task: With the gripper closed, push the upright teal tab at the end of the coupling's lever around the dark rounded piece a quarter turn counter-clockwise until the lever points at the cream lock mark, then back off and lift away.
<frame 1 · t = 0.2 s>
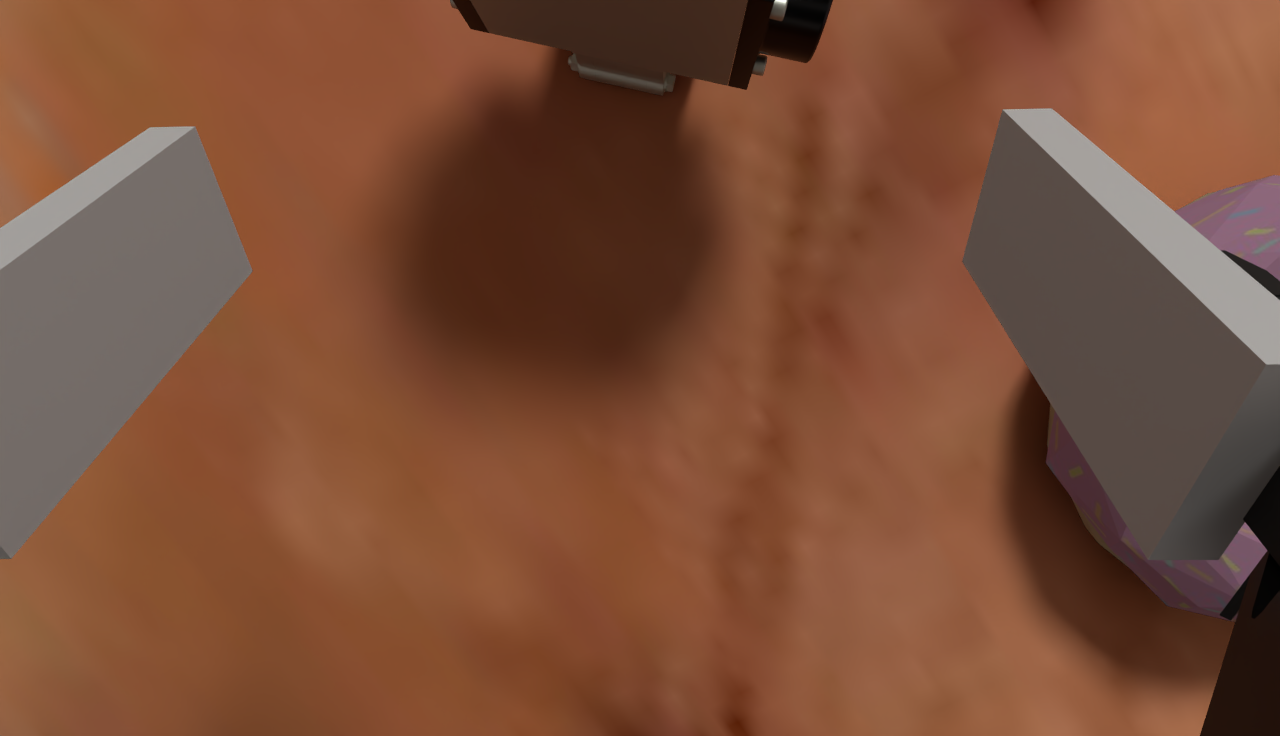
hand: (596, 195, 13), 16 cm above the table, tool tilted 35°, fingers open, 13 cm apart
donut: (1225, 400, 28), on the table
pneumatic valve: (634, 35, 28), on the table
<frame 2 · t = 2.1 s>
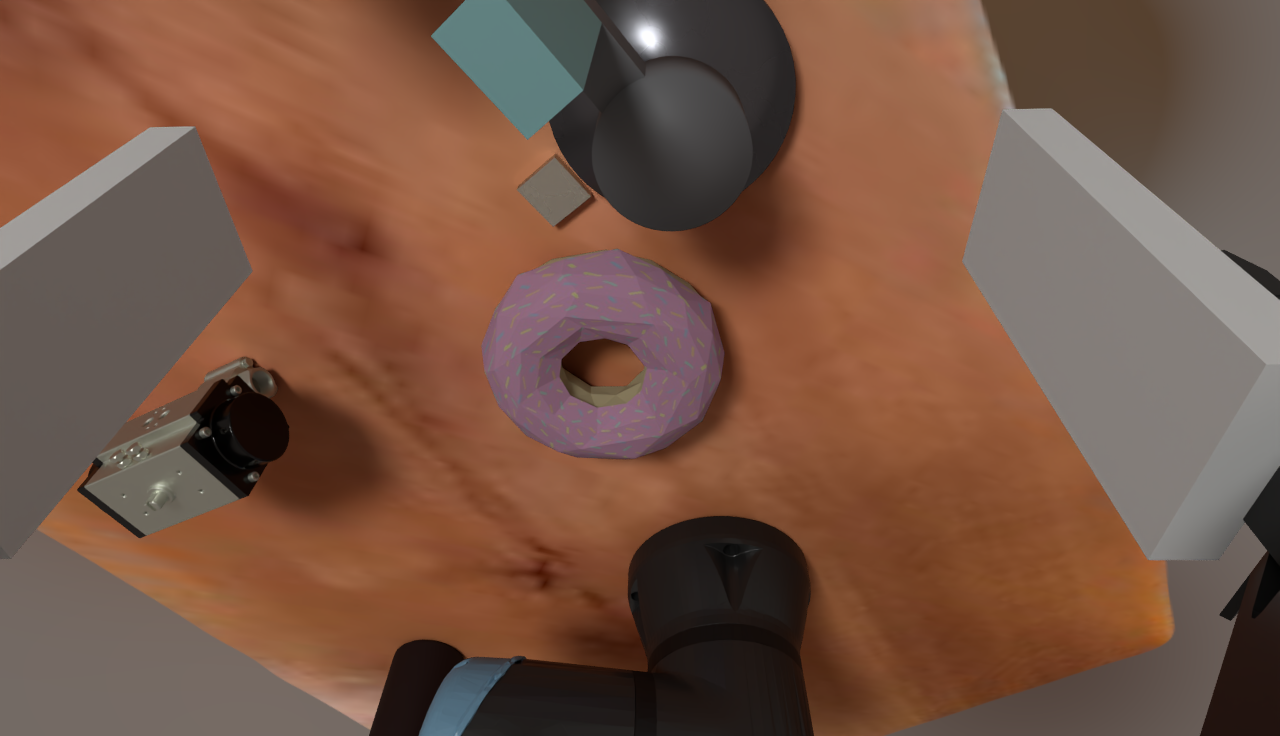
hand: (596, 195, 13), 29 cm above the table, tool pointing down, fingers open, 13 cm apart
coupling: (620, 121, 29), point 12 cm above the table, hinge at 0.0°
dark rounded piece: (669, 93, 40), on the table
donut: (607, 338, 50), on the table
pneumatic valve: (241, 373, 53), on the table
bottle 2: (431, 656, 73), on the table
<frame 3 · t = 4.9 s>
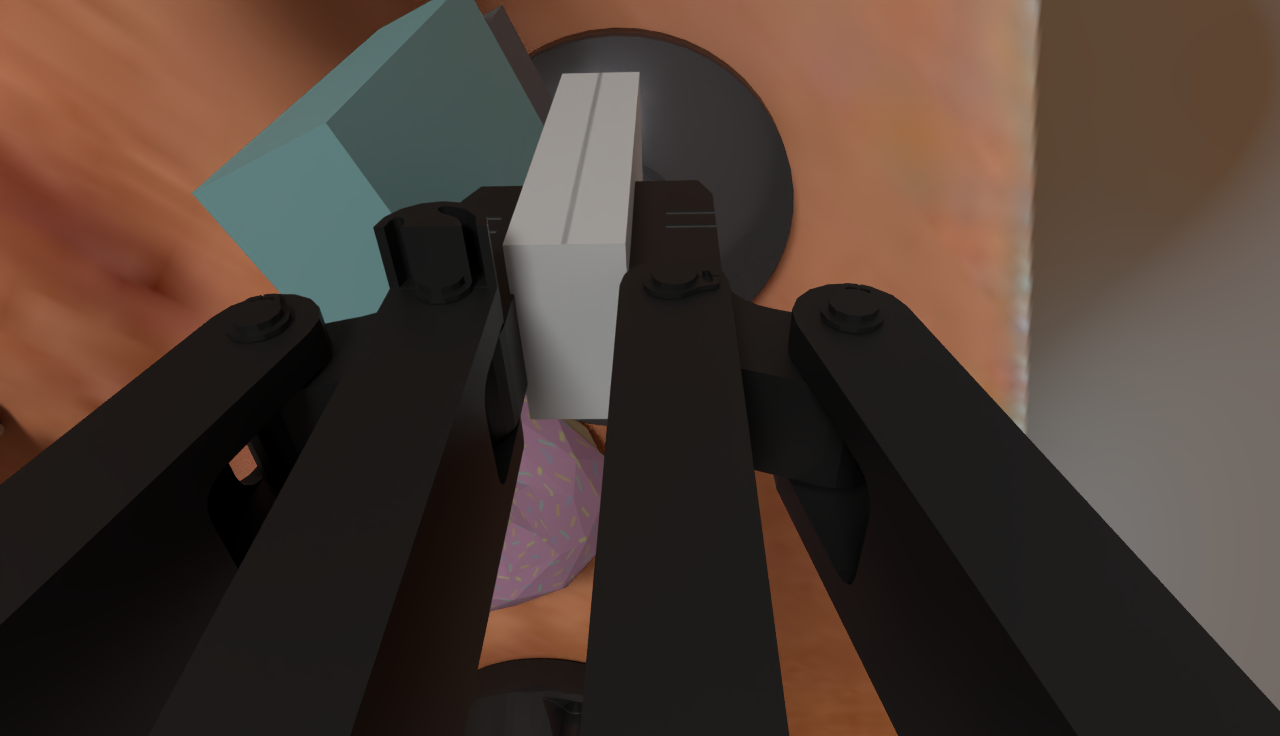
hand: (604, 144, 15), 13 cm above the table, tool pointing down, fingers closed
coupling: (547, 306, 19), point 12 cm above the table, hinge at 0.4°, touching gripper
dark rounded piece: (623, 202, 30), on the table
donut: (470, 459, 39), on the table
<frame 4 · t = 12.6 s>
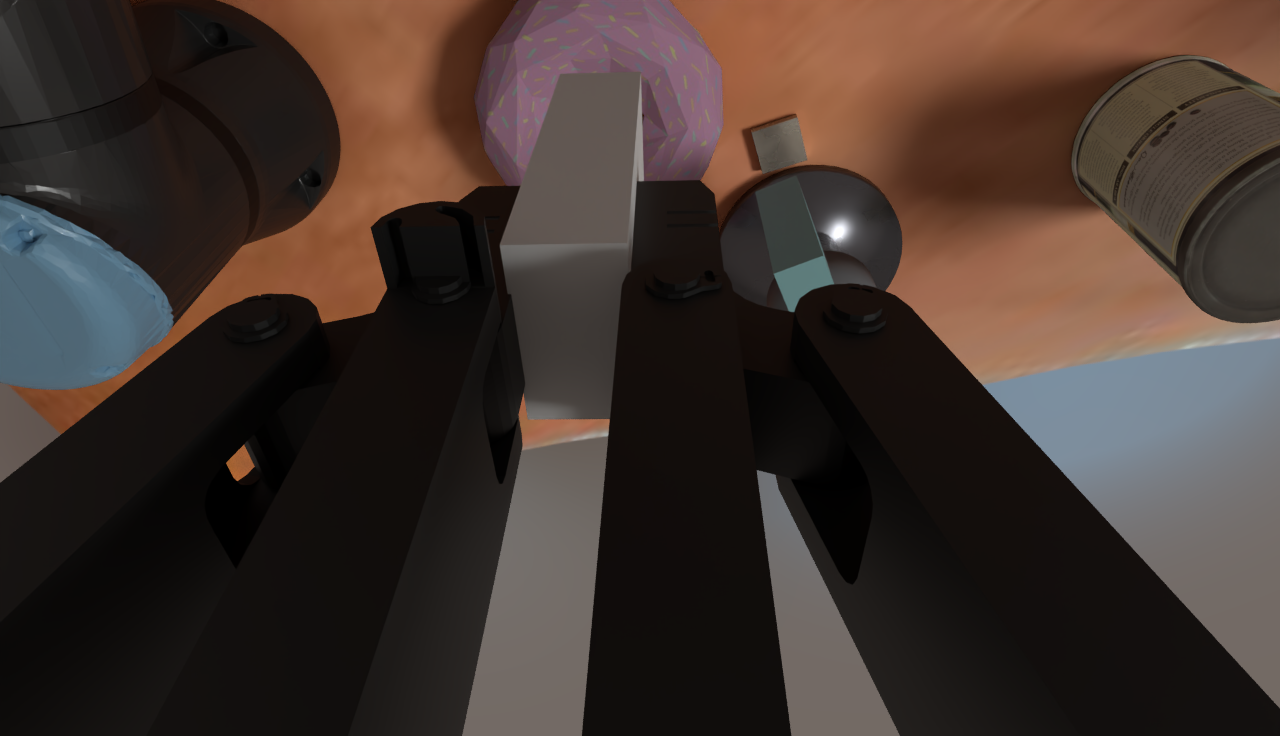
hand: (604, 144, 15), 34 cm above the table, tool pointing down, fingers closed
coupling: (820, 307, 43), point 12 cm above the table, hinge at 95.2°
dark rounded piece: (805, 250, 55), on the table
donut: (602, 101, 49), on the table
coffee can: (1152, 134, 49), on the table
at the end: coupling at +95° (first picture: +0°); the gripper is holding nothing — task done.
